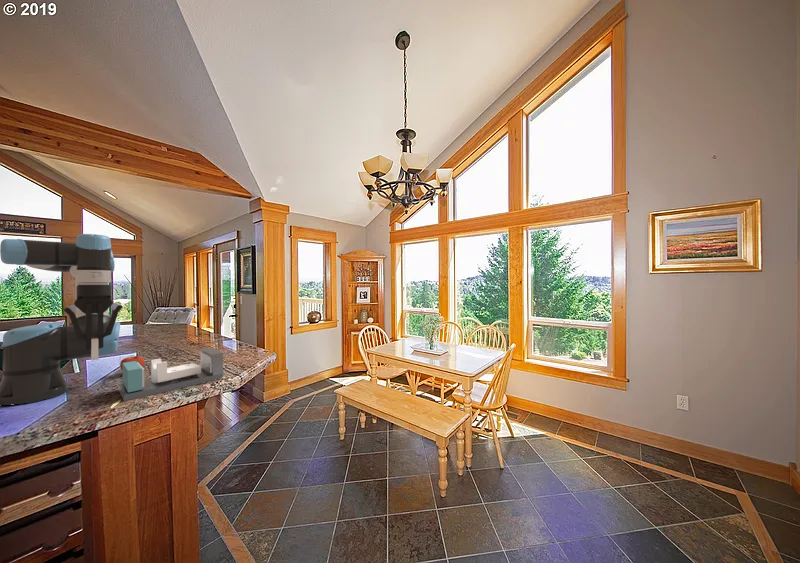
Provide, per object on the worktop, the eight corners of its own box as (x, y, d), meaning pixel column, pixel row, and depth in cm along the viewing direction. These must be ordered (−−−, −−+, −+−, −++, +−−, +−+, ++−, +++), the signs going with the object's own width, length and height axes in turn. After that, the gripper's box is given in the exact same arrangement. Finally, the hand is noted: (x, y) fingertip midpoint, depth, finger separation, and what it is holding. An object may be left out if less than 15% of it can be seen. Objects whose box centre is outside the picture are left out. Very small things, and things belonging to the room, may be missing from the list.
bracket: (157, 385, 101) (157, 363, 100) (151, 381, 105) (151, 360, 105) (201, 375, 111) (200, 355, 111) (193, 371, 115) (193, 352, 115)
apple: (120, 373, 119) (120, 353, 119) (144, 369, 124) (144, 351, 124) (119, 378, 114) (119, 357, 114) (144, 374, 119) (144, 354, 119)
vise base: (118, 390, 101) (118, 384, 101) (210, 371, 123) (210, 366, 123) (124, 401, 92) (124, 394, 92) (223, 378, 113) (223, 373, 113)
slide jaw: (122, 383, 102) (122, 362, 102) (137, 380, 105) (137, 360, 105) (128, 392, 93) (127, 370, 93) (144, 389, 96) (144, 367, 96)
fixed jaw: (199, 368, 120) (199, 348, 120) (210, 366, 123) (210, 347, 123) (211, 376, 110) (211, 354, 110) (223, 373, 113) (222, 352, 113)
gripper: (62, 284, 85) (63, 366, 85) (124, 283, 95) (124, 357, 95) (62, 284, 90) (63, 361, 90) (121, 283, 99) (121, 353, 99)
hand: (94, 359), depth 92 cm, fingers closed
